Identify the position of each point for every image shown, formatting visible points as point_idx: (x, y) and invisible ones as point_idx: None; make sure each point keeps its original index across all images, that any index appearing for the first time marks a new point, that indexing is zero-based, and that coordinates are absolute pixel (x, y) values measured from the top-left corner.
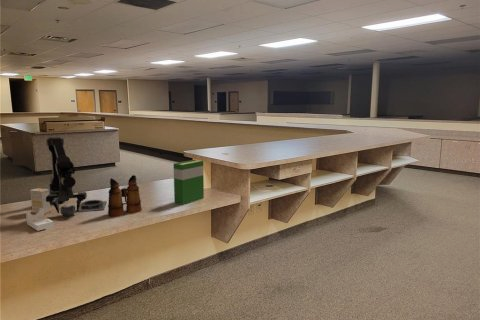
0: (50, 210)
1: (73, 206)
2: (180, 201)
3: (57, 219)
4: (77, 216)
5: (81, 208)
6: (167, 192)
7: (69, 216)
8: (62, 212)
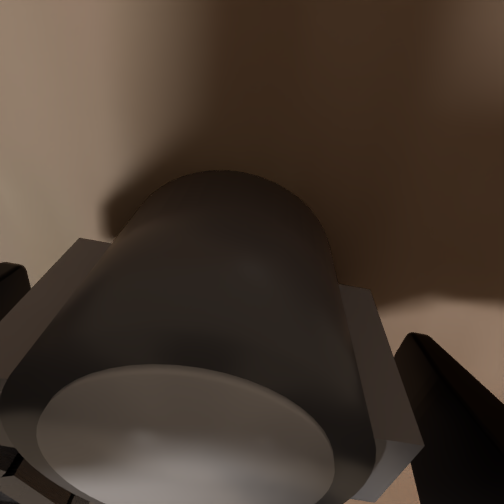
0: None
1: (10, 415)
2: None
3: (468, 78)
4: (22, 125)
5: None
6: None
7: (193, 174)
8: (340, 297)
